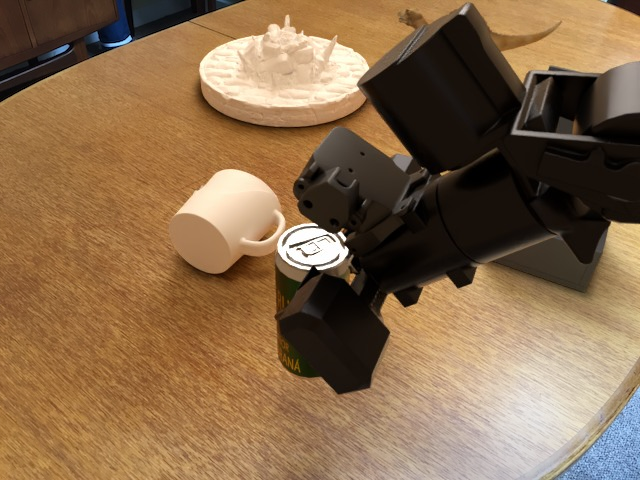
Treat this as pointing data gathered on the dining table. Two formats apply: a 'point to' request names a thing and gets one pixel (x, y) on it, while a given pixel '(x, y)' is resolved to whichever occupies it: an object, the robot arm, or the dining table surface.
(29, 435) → the dining table surface
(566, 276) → the grey open square box
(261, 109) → the cake
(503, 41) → the dinosaur figurine
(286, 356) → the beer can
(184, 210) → the mug
